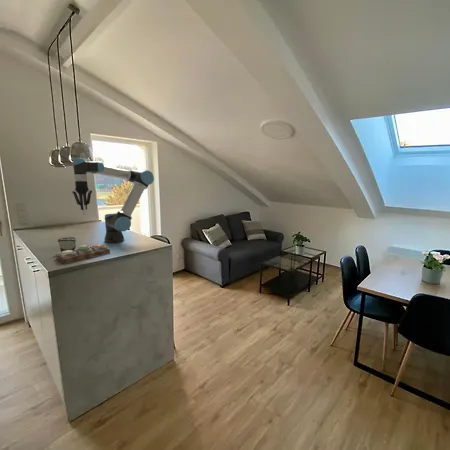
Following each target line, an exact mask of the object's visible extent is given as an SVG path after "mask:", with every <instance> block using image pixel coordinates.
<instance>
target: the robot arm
mask: <svg viewBox="0 0 450 450" xmlns="http://www.w3.org/2000/svg"><path fill="white" fill-rule="evenodd" d="M72 166H73V174H74V176H73V177H74V185H75V186H74V187H75V189H74V190H73V191H71V193H72V194H73V196H74V200H75V202H76V204H77V205H78V206H80V210H81V211H82V215H87V210H88V205H90V202H91V195H92V193H93V190H91V189H89V188H88V186H89V185H88V181H87V180H88V176H87V174H88V173H90V174H94V175H95V174H96V175H101V176H106V177H111V178H117V179H121V180H124V181H126V182H129V183H133V186H132V188H131V190H130V192H129V194H128V196H127V197H126V200H125V201H124V203H123V205H122V207H121V209H120V210H118V211H117V212H115V213H106V214H105V215H104V224H105V226H104V227H105V235H104V238H103V239H104V243H107V244H115V243H121V242H123V240H124V241H125V237H124V234H123V232H126V231H128V230H129V229H130V228H131V226H132V222H131V221H132V219H133V217H132V215H133V212H134V210H135V209H136V207H137V204H138V203H139V201H140V199H141V197H142V194H143V193H144V191H145V190H147V189H148V188H149V185H151V184H153V183H154V181H155V176H154V174H153V172H151V171H150V170H149V169H142V170H141V169H136V170H135V169H127V170H126V169H121V168H118V167H112V166H109V165H108V166H107V165H104V162H103V161H90V160H89V161H86V159H85V158H83V157H73V159H72Z"/></svg>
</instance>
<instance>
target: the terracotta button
mask: <svg viewBox="0 0 450 450" xmlns="http://www.w3.org/2000/svg"><path fill="white" fill-rule="evenodd" d="M103 245H104V244H103V243H101V244H100V243H98V244H94V245H93V246H94V248H98V247H103Z"/></svg>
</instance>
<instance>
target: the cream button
mask: <svg viewBox="0 0 450 450" xmlns="http://www.w3.org/2000/svg"><path fill="white" fill-rule="evenodd" d="M69 253H72V250H66V251H62V254H63V255H64V254H69Z"/></svg>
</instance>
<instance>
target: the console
mask: <svg viewBox="0 0 450 450" xmlns="http://www.w3.org/2000/svg"><path fill="white" fill-rule="evenodd" d="M110 250H111V249H110V248H109V247H108V246H107V245H105V244H103V247H98V248H94V245H90V246H88V250H84V251H79V250H78V248H76V249H74V251H73V250H72V253H69V254H64V255H63V254H62V252H61V251H58V252H57V254H55V259H56V260H57V261H59V262H60V263H62V264H64V265H65V264H68V263H73V262H77V261H83V260H87V259H91V258H94V257H99V256H103V255H108V254H109V255H110V253H111V251H110Z"/></svg>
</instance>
